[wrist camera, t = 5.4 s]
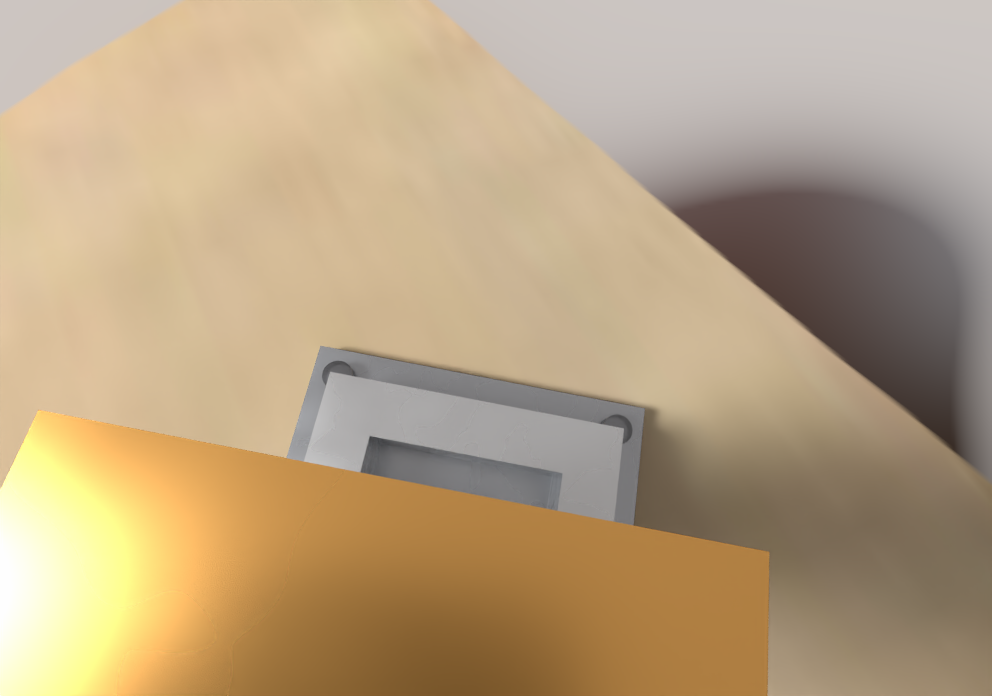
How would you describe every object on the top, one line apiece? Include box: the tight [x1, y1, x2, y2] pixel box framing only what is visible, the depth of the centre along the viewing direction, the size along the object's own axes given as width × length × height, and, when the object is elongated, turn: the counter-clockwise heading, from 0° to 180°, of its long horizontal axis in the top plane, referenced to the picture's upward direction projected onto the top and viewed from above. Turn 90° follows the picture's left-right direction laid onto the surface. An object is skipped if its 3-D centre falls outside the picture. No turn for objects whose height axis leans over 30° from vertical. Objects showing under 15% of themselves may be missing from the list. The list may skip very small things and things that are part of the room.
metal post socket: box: [287, 346, 645, 525], centre depth 18 cm, size 14×14×3 cm
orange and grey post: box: [0, 410, 769, 696], centre depth 8 cm, size 4×4×12 cm
